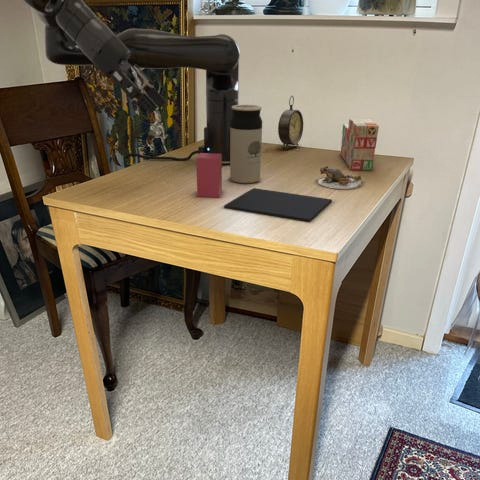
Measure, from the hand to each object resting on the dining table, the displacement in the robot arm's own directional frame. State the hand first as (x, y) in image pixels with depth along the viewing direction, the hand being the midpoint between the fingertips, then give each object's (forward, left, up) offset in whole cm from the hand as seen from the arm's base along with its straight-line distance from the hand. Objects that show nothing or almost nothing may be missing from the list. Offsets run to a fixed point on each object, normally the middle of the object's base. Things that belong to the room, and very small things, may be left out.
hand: (159, 107), depth 111 cm
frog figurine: (+35, +29, -19) cm, 50 cm away
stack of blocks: (+33, +55, -19) cm, 67 cm away
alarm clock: (+7, +66, -19) cm, 69 cm away
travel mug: (+12, +20, -19) cm, 30 cm away
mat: (+28, +4, -19) cm, 34 cm away
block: (+10, +4, -19) cm, 22 cm away
